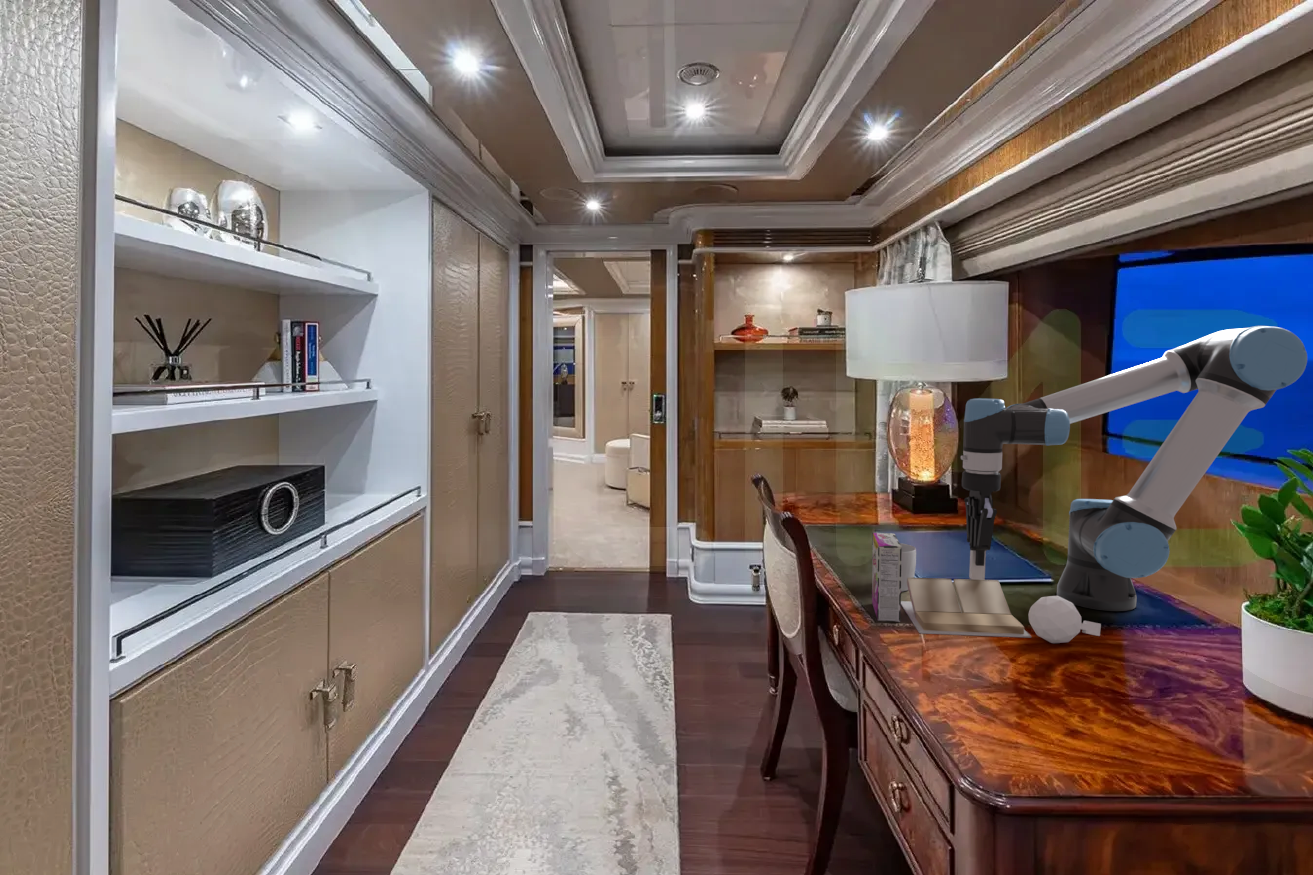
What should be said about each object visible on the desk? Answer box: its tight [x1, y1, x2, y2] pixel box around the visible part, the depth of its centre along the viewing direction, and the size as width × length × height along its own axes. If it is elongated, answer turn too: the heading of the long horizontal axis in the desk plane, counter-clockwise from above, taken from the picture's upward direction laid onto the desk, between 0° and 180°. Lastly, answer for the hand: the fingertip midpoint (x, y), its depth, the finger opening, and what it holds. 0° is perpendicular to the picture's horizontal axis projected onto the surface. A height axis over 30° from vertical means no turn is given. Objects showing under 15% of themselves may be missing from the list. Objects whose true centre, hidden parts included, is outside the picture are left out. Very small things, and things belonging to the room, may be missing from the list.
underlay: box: [901, 600, 1032, 639], centre depth 144 cm, size 21×18×1 cm
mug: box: [899, 542, 917, 593], centre depth 165 cm, size 13×9×10 cm
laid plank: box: [915, 611, 1025, 634], centre depth 139 cm, size 19×7×2 cm, turn 83°
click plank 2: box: [952, 578, 1012, 615], centre depth 146 cm, size 9×9×1 cm
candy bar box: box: [871, 532, 902, 623], centre depth 147 cm, size 11×5×16 cm, turn 168°
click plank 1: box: [907, 577, 961, 615], centre depth 147 cm, size 9×9×1 cm
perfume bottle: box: [1028, 595, 1102, 644], centre depth 131 cm, size 9×9×12 cm
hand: (976, 578), depth 148 cm, fingers closed
